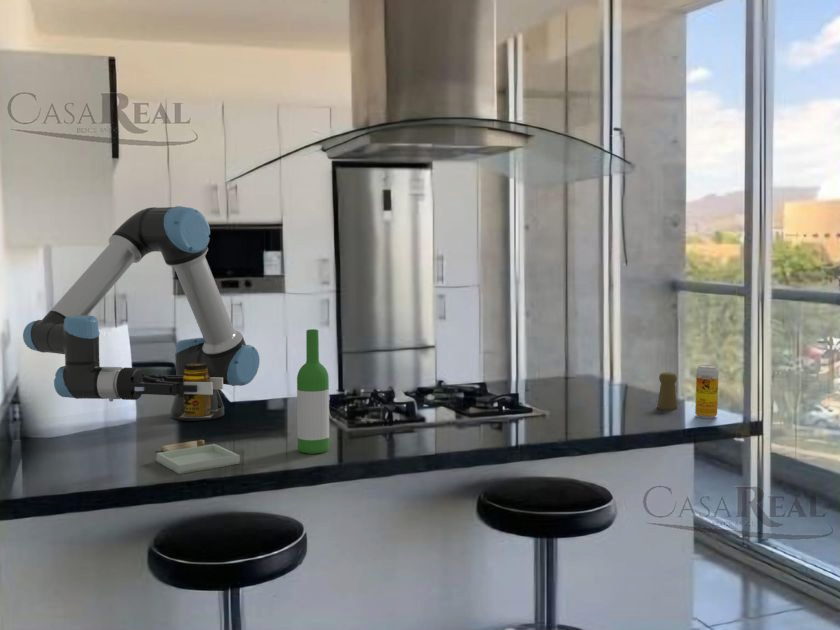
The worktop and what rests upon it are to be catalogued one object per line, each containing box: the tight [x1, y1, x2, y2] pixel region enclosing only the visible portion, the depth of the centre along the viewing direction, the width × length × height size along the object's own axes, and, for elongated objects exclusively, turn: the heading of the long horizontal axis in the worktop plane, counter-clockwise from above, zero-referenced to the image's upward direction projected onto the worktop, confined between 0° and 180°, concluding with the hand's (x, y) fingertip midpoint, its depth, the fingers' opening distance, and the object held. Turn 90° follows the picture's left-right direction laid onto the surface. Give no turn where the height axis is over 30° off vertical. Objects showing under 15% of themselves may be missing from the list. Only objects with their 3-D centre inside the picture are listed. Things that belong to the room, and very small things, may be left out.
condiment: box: [180, 363, 218, 418], centre depth 197 cm, size 7×8×12 cm
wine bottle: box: [296, 328, 330, 455], centre depth 207 cm, size 8×8×30 cm
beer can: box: [694, 364, 720, 419], centre depth 248 cm, size 6×6×15 cm
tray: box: [156, 443, 241, 475], centre depth 197 cm, size 15×14×2 cm
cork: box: [656, 371, 678, 411], centre depth 261 cm, size 6×6×11 cm
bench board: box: [160, 439, 206, 452], centre depth 208 cm, size 9×8×2 cm
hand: (217, 385), depth 195 cm, fingers closed on condiment, 6 cm apart
